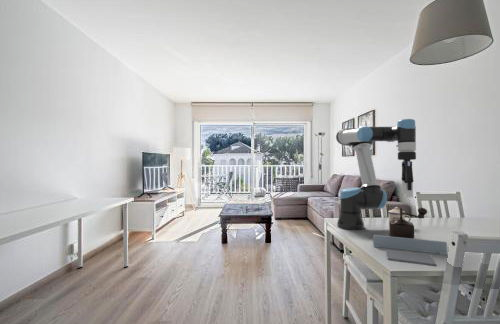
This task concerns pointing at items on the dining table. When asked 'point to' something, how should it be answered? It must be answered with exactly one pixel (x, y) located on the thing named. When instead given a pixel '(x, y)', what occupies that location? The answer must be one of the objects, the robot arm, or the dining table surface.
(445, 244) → the low wall
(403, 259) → the slate mat
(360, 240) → the dining table surface
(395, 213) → the teacup with lid
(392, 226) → the coffee grinder
